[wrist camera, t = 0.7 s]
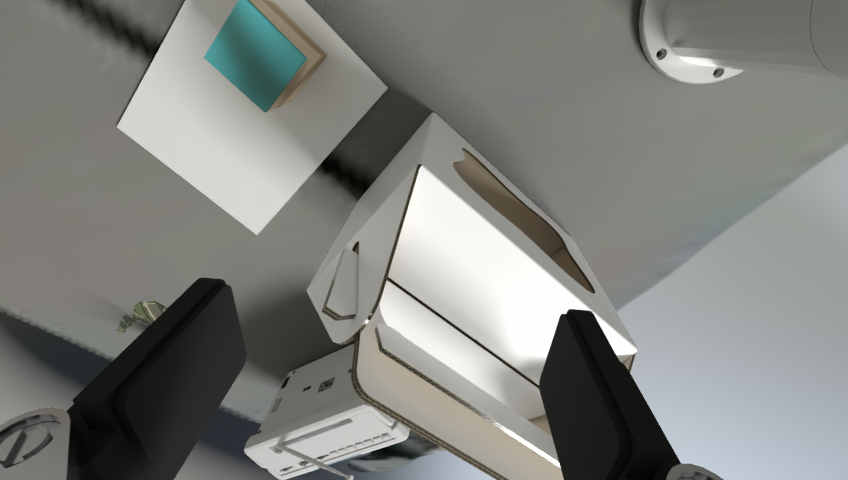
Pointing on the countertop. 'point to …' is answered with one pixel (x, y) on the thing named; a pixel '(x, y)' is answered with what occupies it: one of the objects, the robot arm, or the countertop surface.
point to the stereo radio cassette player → (320, 421)
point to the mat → (245, 114)
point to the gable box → (458, 303)
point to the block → (264, 53)
